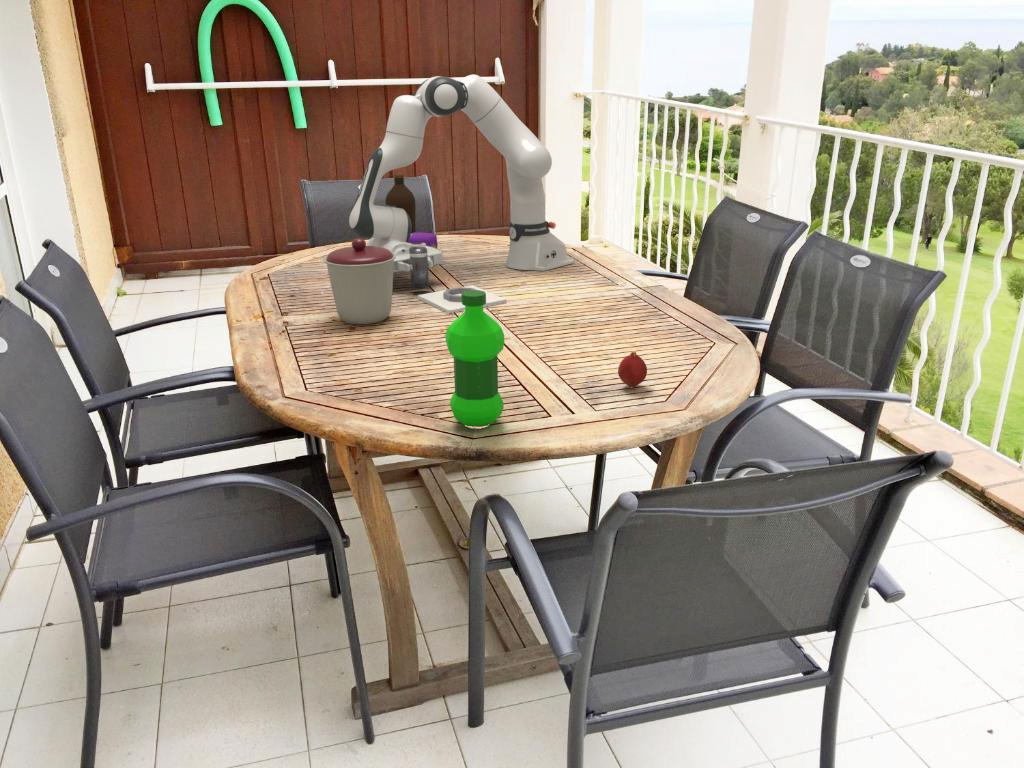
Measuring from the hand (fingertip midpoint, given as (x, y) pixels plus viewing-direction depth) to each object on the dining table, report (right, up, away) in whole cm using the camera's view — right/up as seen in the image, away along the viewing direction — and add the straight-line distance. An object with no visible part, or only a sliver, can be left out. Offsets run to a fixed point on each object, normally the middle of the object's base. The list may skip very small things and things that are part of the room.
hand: (420, 266), depth 230 cm
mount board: (+12, -10, -4) cm, 16 cm away
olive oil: (-14, +17, +64) cm, 68 cm away
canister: (-12, -17, -19) cm, 28 cm away
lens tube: (0, -5, +3) cm, 6 cm away
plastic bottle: (+20, -41, -79) cm, 91 cm away
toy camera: (-4, +7, +38) cm, 39 cm away
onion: (+50, -34, -64) cm, 88 cm away
